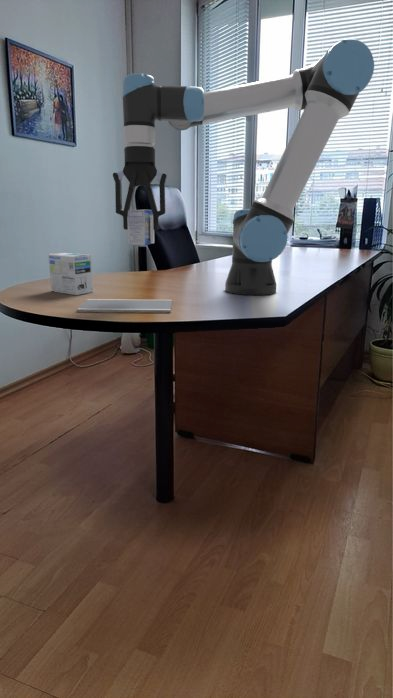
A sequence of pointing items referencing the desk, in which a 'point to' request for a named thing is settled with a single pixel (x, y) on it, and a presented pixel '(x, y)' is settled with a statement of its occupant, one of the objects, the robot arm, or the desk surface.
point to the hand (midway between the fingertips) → (141, 242)
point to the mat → (126, 306)
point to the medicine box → (139, 227)
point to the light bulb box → (71, 273)
